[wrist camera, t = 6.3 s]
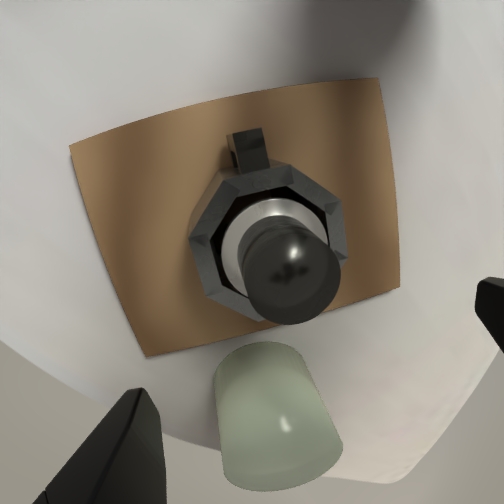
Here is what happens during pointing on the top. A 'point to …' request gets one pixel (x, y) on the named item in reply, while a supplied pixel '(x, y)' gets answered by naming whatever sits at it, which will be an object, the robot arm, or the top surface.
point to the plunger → (281, 260)
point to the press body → (241, 195)
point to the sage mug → (272, 419)
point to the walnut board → (199, 176)
